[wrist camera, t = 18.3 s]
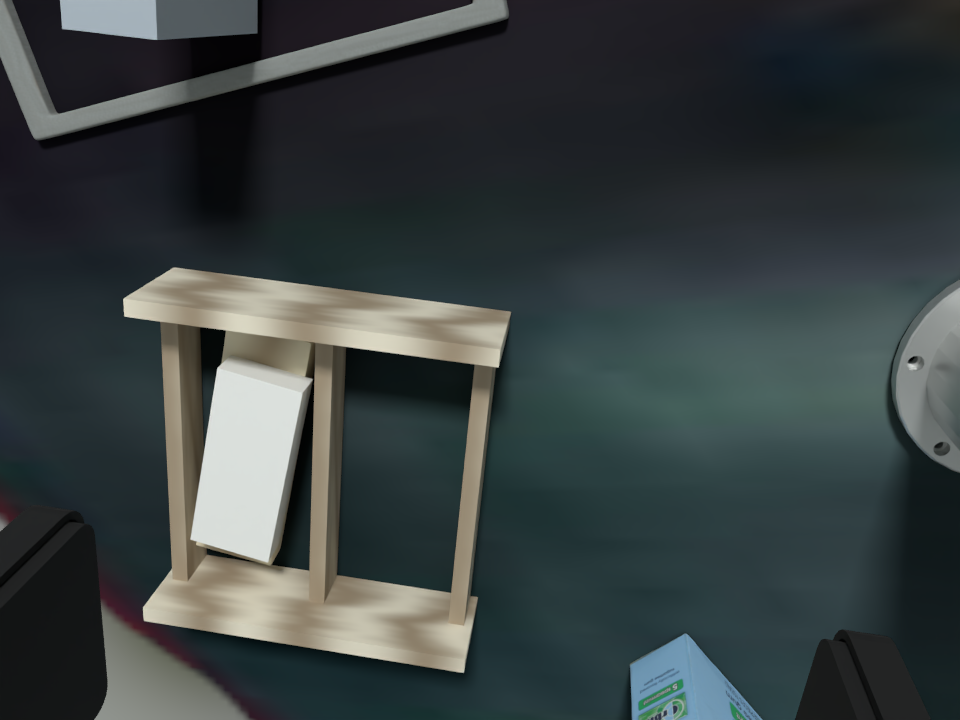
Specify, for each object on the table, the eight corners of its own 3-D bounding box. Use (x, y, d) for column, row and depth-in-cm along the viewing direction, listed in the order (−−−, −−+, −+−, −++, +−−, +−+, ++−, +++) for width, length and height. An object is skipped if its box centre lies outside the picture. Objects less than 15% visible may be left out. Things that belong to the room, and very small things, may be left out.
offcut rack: (510, 311, 50) (500, 349, 44) (476, 609, 58) (463, 673, 52) (174, 267, 51) (123, 298, 46) (185, 563, 59) (144, 620, 54)
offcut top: (312, 379, 51) (302, 393, 49) (278, 544, 55) (268, 562, 54) (230, 354, 51) (217, 367, 49) (203, 521, 56) (190, 539, 54)
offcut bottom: (323, 328, 52) (311, 343, 50) (283, 543, 58) (270, 565, 56) (243, 306, 52) (227, 320, 50) (211, 523, 59) (196, 545, 56)
